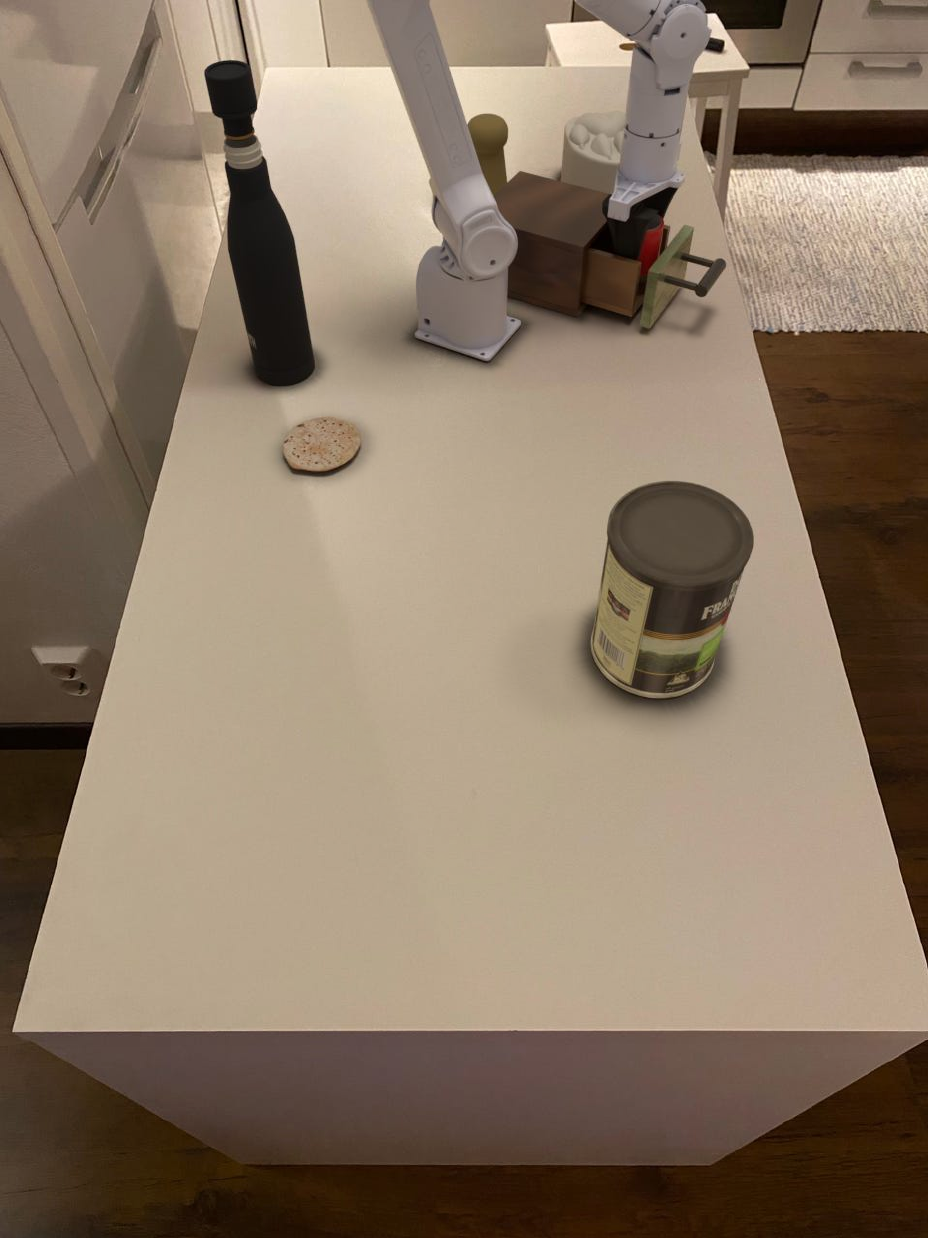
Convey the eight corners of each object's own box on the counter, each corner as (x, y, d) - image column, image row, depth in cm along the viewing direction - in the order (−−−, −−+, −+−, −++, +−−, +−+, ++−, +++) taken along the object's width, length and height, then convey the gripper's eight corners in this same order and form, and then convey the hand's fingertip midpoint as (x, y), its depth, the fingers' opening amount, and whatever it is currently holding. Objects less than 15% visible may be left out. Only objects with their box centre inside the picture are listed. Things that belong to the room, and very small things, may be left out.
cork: (505, 220, 120) (507, 131, 112) (459, 215, 121) (457, 127, 113) (513, 196, 124) (516, 108, 116) (468, 192, 125) (467, 104, 116)
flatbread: (311, 413, 97) (309, 406, 96) (375, 434, 95) (374, 426, 94) (267, 462, 93) (265, 454, 92) (333, 485, 91) (331, 477, 90)
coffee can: (734, 631, 79) (775, 511, 68) (684, 720, 74) (720, 606, 63) (623, 582, 83) (645, 461, 72) (567, 664, 77) (582, 546, 66)
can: (605, 268, 105) (610, 224, 101) (623, 247, 108) (628, 203, 104) (647, 280, 103) (653, 236, 99) (664, 258, 106) (671, 214, 102)
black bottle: (324, 355, 103) (278, 58, 80) (299, 391, 100) (243, 89, 76) (271, 344, 105) (211, 48, 81) (245, 379, 101) (173, 79, 78)
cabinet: (618, 267, 113) (627, 198, 107) (577, 317, 107) (583, 247, 100) (517, 238, 118) (519, 170, 111) (472, 285, 111) (471, 215, 105)
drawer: (724, 293, 108) (737, 237, 103) (691, 341, 103) (703, 285, 97) (585, 254, 114) (591, 199, 108) (547, 298, 108) (551, 242, 103)
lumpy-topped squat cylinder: (631, 166, 129) (639, 99, 122) (653, 216, 121) (664, 147, 114) (555, 171, 128) (559, 104, 121) (573, 221, 120) (578, 153, 113)
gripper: (663, 165, 89) (643, 294, 99) (717, 104, 96) (693, 229, 107) (594, 149, 91) (582, 277, 101) (652, 90, 99) (635, 214, 109)
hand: (635, 251), depth 104 cm, fingers closed on can, 5 cm apart
